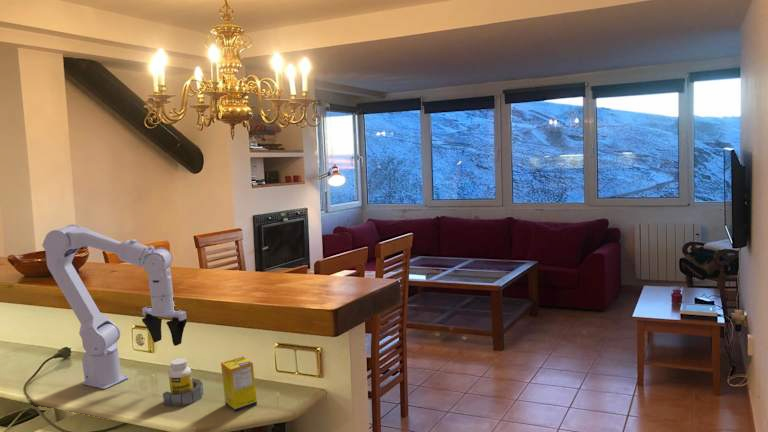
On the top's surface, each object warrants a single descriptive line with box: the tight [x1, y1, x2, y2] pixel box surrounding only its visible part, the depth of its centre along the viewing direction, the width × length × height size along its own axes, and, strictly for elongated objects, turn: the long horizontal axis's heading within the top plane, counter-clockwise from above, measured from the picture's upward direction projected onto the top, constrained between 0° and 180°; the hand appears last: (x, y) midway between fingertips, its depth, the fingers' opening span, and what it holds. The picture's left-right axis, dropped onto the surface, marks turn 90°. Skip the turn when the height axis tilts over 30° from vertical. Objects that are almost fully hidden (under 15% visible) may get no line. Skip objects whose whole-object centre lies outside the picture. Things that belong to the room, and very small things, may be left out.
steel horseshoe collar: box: [162, 377, 204, 408], centre depth 158 cm, size 6×10×3 cm, turn 151°
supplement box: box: [220, 356, 258, 413], centre depth 152 cm, size 6×6×11 cm
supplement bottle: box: [168, 357, 193, 393], centre depth 158 cm, size 5×5×10 cm
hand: (167, 342), depth 170 cm, fingers open, 7 cm apart
